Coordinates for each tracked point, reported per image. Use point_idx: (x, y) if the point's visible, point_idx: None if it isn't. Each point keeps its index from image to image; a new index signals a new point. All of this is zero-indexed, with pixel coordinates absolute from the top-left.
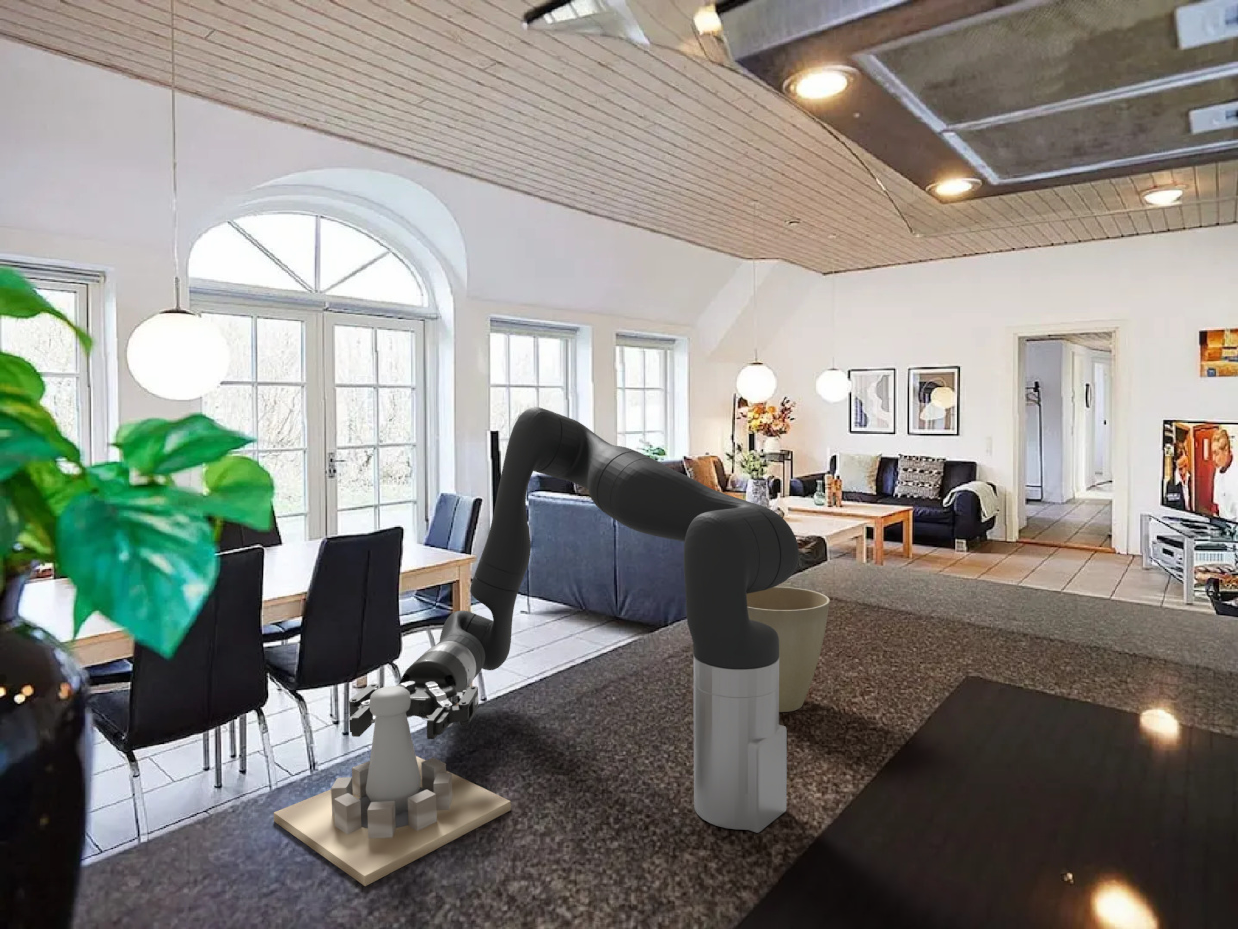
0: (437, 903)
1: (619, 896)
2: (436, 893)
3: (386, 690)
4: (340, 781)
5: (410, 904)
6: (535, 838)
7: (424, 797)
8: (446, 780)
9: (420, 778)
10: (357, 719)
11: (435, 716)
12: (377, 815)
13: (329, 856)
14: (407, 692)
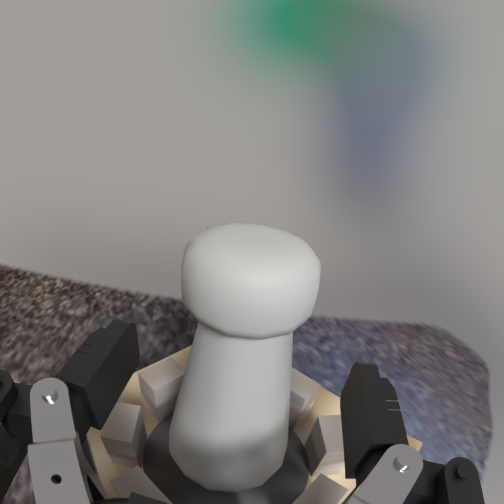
0: (152, 308)
1: (17, 284)
2: (152, 317)
3: (265, 235)
4: (341, 436)
5: (177, 311)
6: (28, 362)
7: (158, 368)
8: (113, 409)
9: (169, 444)
10: (357, 362)
11: (105, 334)
12: None
13: None
14: (191, 244)
